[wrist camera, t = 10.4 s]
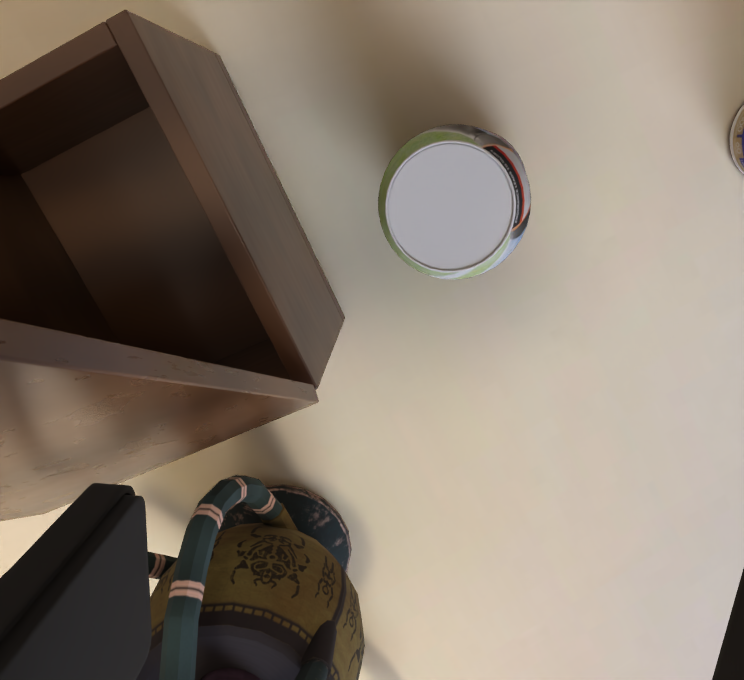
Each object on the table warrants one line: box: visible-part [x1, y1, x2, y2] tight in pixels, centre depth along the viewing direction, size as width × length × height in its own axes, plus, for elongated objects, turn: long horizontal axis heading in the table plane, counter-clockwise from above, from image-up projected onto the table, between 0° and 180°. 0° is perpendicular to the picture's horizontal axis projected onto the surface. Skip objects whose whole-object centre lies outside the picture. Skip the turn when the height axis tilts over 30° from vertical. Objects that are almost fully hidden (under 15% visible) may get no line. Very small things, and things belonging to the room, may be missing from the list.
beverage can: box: [378, 125, 531, 279], centre depth 29 cm, size 6×7×12 cm
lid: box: [0, 318, 319, 521], centre depth 18 cm, size 17×14×5 cm
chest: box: [0, 10, 345, 389], centre depth 31 cm, size 16×14×11 cm
